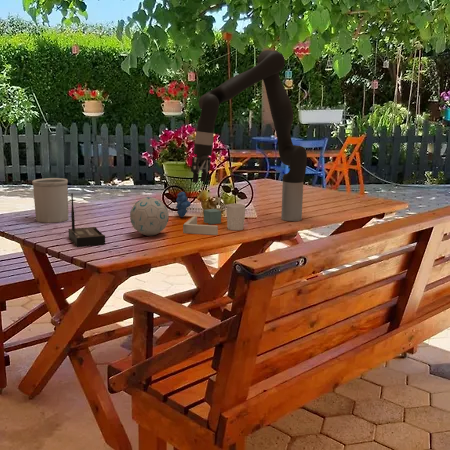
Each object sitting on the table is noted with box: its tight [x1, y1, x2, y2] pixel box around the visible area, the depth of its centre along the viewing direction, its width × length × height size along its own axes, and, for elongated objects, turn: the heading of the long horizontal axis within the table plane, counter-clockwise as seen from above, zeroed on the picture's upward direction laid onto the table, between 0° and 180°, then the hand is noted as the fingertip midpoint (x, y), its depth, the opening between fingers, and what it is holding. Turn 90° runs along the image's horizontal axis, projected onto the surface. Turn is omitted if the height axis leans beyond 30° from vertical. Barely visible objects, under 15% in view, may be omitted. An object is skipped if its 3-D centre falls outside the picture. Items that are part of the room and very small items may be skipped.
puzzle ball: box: [129, 196, 170, 237], centre depth 244 cm, size 15×15×15 cm
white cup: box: [225, 203, 246, 231], centre depth 257 cm, size 8×8×10 cm
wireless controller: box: [67, 192, 106, 248], centre depth 234 cm, size 20×14×17 cm
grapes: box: [175, 191, 192, 218], centre depth 279 cm, size 12×7×12 cm, turn 20°
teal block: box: [203, 208, 222, 225], centre depth 269 cm, size 6×6×6 cm
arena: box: [182, 215, 219, 236], centre depth 256 cm, size 17×14×4 cm
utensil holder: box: [31, 177, 69, 224], centre depth 269 cm, size 15×15×18 cm
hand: (199, 182), depth 257 cm, fingers open, 8 cm apart
